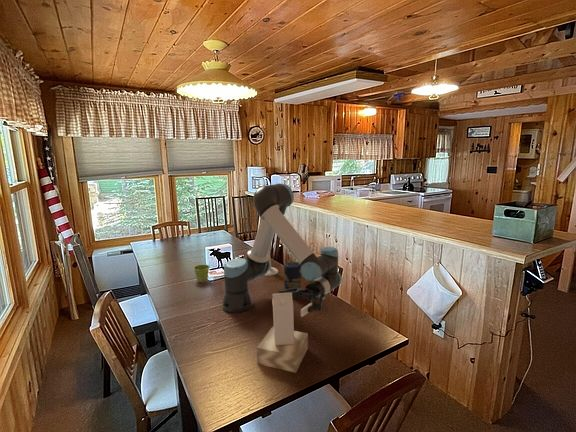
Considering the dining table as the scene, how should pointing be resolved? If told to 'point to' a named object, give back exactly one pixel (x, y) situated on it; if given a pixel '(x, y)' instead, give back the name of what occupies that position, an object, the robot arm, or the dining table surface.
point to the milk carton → (283, 318)
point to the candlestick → (272, 270)
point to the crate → (282, 352)
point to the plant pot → (201, 272)
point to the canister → (292, 275)
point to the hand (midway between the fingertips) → (286, 307)
